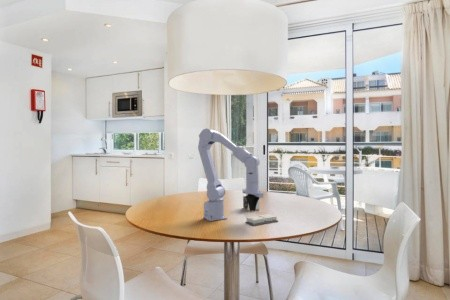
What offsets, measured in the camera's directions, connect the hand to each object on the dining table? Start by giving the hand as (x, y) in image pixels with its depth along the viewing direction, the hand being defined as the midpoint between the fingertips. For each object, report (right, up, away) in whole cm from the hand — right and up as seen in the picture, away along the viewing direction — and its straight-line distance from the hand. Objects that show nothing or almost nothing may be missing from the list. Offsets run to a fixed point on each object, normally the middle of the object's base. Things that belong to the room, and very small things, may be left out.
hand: (252, 210), depth 134 cm
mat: (+4, -5, -1) cm, 7 cm away
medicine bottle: (+2, -5, +26) cm, 27 cm away
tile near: (0, -4, +1) cm, 4 cm away
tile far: (+6, -4, +4) cm, 8 cm away
